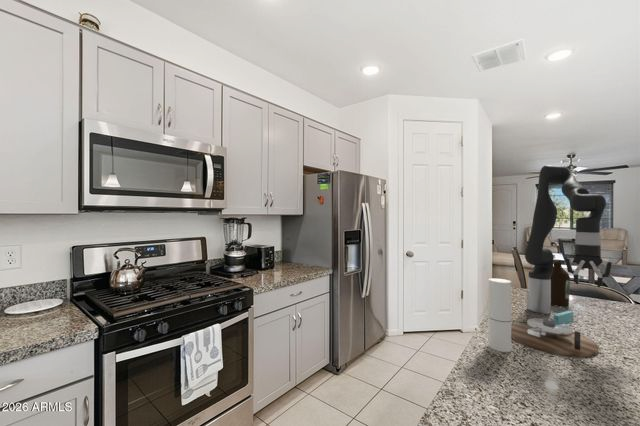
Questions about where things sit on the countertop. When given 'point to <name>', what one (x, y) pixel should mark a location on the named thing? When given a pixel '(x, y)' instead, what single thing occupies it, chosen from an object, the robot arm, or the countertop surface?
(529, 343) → the base plate
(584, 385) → the countertop surface
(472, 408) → the countertop surface
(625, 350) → the countertop surface
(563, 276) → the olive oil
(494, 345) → the cylindrical container
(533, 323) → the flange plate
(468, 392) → the countertop surface
